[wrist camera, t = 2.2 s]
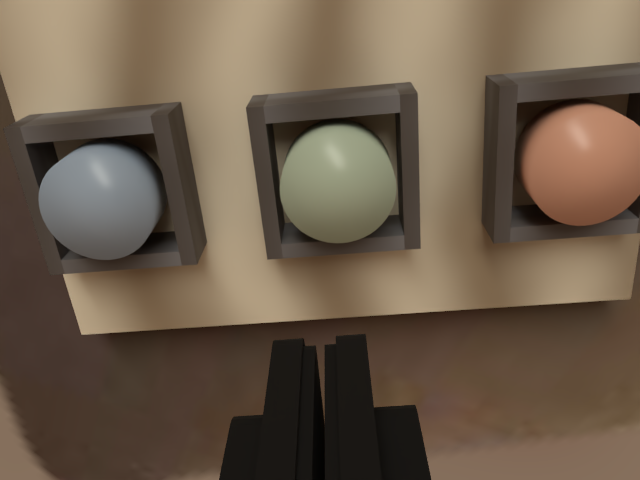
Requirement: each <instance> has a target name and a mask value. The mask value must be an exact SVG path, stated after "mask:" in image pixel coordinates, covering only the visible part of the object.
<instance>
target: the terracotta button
mask: <svg viewBox="0 0 640 480" xmlns="http://www.w3.org/2000/svg"><path fill="white" fill-rule="evenodd" d="M514 168H515V173H516V176H517V179H518V181H519V183H520V184H521V186H522V187H523V188H524V190H525V191H526V192H527V193H528V194H529V196H530V197H531V198H532V199H533V200H534V202H535V203H536V204H537V205H538V206H539V208H540V209H541V210H542V211H543V212H544V213H545V214H546V215H548V216H549V217H550V218H552V219H554V220H556V221H558V222H561V223H563V224H568V225H574V226H586V225H593V224H597V223H601V222H604V221H606V220H609V219H611V218H613V217H615V216H616V215H618V214H620V213H621V212H623V211H624V210H625V209H627V208H628V207H629V206H630V205H631V204H632V203H633V202H634V201H635V200H636V199H637V197H638V196H639V195H640V126H638V125H637V124H636V123H635V122H634V121H632V120H630V119H629V118H627V117H625V116H623V115H622V114H620V113H618V112H616V111H614V110H612V109H611V108H609V107H607V106H605V105H603V104H601V103H599V102H596V101H593V100H588V99H570V100H565V101H561V102H558V103H556V104H553V105H551V106H549V107H547V108H545V109H544V110H543V111H541V112H540V113H538V114H537V115H536V116H535V117H534V118H533V119H532V120H531V121H530V122H529V123H528V124H527V125H526V127H525V128H524V130H523V131H522V133H521V135H520V137H519V139H518V141H517V144H516V148H515V154H514Z"/></svg>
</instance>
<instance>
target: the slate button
mask: <svg viewBox="0 0 640 480" xmlns="http://www.w3.org/2000/svg"><path fill="white" fill-rule="evenodd" d="M166 204H167V193H166V188H165V183H164V179H163V174H162V172H161V170H160V168H159V166H158V165H157V164H156V162H155V161H154V160H153V159H152V158H151V157H150V156H149V155H148V154H147V153H146V152H144V151H143V150H142V149H140V148H139V147H137V146H135V145H133V144H131V143H129V142H126V141H123V140H119V139H113V138H100V139H95V140H91V141H88V142H86V143H84V144H82V145H81V146H79V147H77V148H76V149H75V150H73V151H72V152H71V153H69V154H68V155H67V156H65V157H64V158H63V159H61V160H60V161H59V162H57V163H56V164H55V165H54V166H53V167H52V168H50V169H49V171H48V172H47V173H46V175H45V176H44V178H43V180H42V183H41V185H40V189H39V208H40V212H41V215H42V218H43V220H44V222H45V224H46V226H47V228H48V229H49V231H50V232H51V233H52V235H53V236H54V237H55V238H56V239H57V240H58V241H59V242H60V243H61V244H63V245H64V246H65V247H67V248H68V249H70V250H71V251H73V252H75V253H77V254H79V255H82V256H85V257H88V258H92V259H98V260H113V259H118V258H122V257H125V256H127V255H130V254H131V253H133V252H135V251H136V250H137V249H139V248H140V247H141V246H142V245H143V244H144V242H145V241H146V239H147V238H148V236H149V235H150V233H151V232H152V230H153V229H154V227H155V226H156V224H157V223H158V221H159V220H160V218H161V217H162V215H163V213H164V211H165V208H166Z"/></svg>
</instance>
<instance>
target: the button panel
mask: <svg viewBox="0 0 640 480" xmlns="http://www.w3.org/2000/svg"><path fill="white" fill-rule="evenodd" d="M0 72H1V76H2V79H3V82H4V85H5V88H6V92H7V95H8V98H9V101H10V105H11V108H12V111H13V114H14V118H15V121H16V122H14V123H13V124H11V125H9V126H7V127H5V128H3V130H4V133H5V136H6V139H7V142H8V145H9V149H10V152H11V155H12V158H13V161H14V164H15V167H16V170H17V174H18V177H19V180H20V183H21V186H22V189H23V192H24V195H25V199H26V202H27V205H28V208H29V211H30V214H31V217H32V220H33V224H34V227H35V230H36V233H37V236H38V239H39V242H40V245H41V249H42V252H43V255H44V258H45V261H46V264H47V267H48V270H49V274H50V275H59V274H63V276H64V279H65V282H66V286H67V289H68V292H69V295H70V299H71V302H72V305H73V308H74V311H75V315H76V318H77V321H78V324H79V328H80V331H81V334H82V335H86V334H101V333H116V332H132V331H147V330H162V329H177V328H193V327H208V326H223V325H239V324H254V323H269V322H285V321H300V320H315V319H331V318H346V317H361V316H377V315H392V314H407V313H422V312H438V311H453V310H468V309H484V308H499V307H514V306H530V305H545V304H560V303H576V302H591V301H606V300H621V299H631V293H632V287H633V280H634V274H635V268H636V261H637V255H638V248H639V242H640V195H639V196H638V197H637V199H636V200H635V201H634V202H633V203H632V204H631V205H630V206H629V207H628V208H627V209H625V210H624V211H623V212H621V213H620V214H618V215H616V216H615V217H613V218H611V219H609V220H606V221H604V222H601V223H597V224H593V225H586V226H574V225H568V224H563V223H561V222H558V221H556V220H554V219H552V218H550V217H549V216H548V215H546V214H545V213H544V212H543V211H542V210H541V209H540V208H539V206H538V205H537V204H536V203H535V202H534V200H533V199H532V198H531V197H530V196H529V194H528V193H527V192H526V191H525V190H524V188H523V187H522V186H521V184H520V183H519V181H518V179H517V176H516V173H515V168H514V154H515V148H516V144H517V141H518V139H519V137H520V135H521V133H522V131H523V130H524V128H525V127H526V125H527V124H528V123H529V122H530V121H531V120H532V119H533V118H534V117H535V116H536V115H537V114H538V113H540V112H541V111H543V110H544V109H545V108H547V107H549V106H551V105H553V104H556V103H558V102H561V101H565V100H570V99H588V100H593V101H596V102H599V103H601V104H603V105H605V106H607V107H609V108H611V109H612V110H614V111H616V112H618V113H620V114H622V115H623V116H625V117H627V118H629V119H630V120H632V121H634V122H635V123H636V124H637V125H638V126H640V0H0ZM330 119H346V120H351V121H355V122H358V123H360V124H362V125H364V126H366V127H368V128H369V129H370V130H372V131H373V132H374V133H375V134H376V135H377V136H378V137H379V138H380V139H381V141H382V142H383V143H384V145H385V147H386V149H387V151H388V154H389V157H390V161H391V164H392V168H393V171H394V175H395V179H396V197H395V202H394V205H393V208H392V210H391V212H390V214H389V216H388V217H387V219H386V220H385V221H384V222H383V224H382V225H381V226H380V227H379V228H378V229H376V230H375V231H374V232H372V233H371V234H369V235H368V236H366V237H364V238H361V239H359V240H356V241H352V242H347V243H328V242H323V241H319V240H317V239H314V238H312V237H310V236H308V235H306V234H305V233H303V232H302V231H300V230H299V229H298V228H297V227H296V226H295V225H294V224H293V223H292V222H291V221H290V219H289V218H288V216H287V214H286V212H285V210H284V208H283V205H282V202H281V197H280V180H281V176H282V171H283V167H284V163H285V158H286V155H287V152H288V150H289V148H290V146H291V144H292V143H293V141H294V140H295V138H296V137H297V136H298V135H299V134H300V133H301V132H303V131H304V130H305V129H306V128H308V127H310V126H311V125H313V124H316V123H318V122H321V121H324V120H330ZM100 138H113V139H119V140H123V141H126V142H129V143H131V144H133V145H135V146H137V147H139V148H140V149H142V150H143V151H144V152H146V153H147V154H148V155H149V156H150V157H151V158H152V159H153V160H154V161H155V162H156V164H157V165H158V166H159V168H160V170H161V172H162V174H163V179H164V183H165V188H166V193H167V204H166V208H165V211H164V213H163V215H162V217H161V218H160V220H159V221H158V223H157V224H156V226H155V227H154V229H153V230H152V232H151V233H150V235H149V236H148V238H147V239H146V241H145V242H144V244H143V245H142V246H141V247H140V248H139V249H137V250H136V251H135V252H133V253H131V254H130V255H127V256H125V257H122V258H118V259H113V260H98V259H92V258H88V257H85V256H82V255H79V254H77V253H75V252H73V251H71V250H70V249H68V248H67V247H65V246H64V245H63V244H61V243H60V242H59V241H58V240H57V239H56V238H55V237H54V236H53V235H52V233H51V232H50V231H49V229H48V228H47V226H46V224H45V222H44V220H43V218H42V215H41V212H40V208H39V189H40V185H41V183H42V180H43V178H44V176H45V175H46V173H47V172H48V171H49V169H50V168H52V167H53V166H54V165H55V164H56V163H57V162H59V161H60V160H61V159H63V158H64V157H65V156H67V155H68V154H69V153H71V152H72V151H73V150H75V149H76V148H77V147H79V146H81V145H82V144H84V143H86V142H88V141H91V140H95V139H100Z"/></svg>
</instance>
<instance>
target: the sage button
mask: <svg viewBox="0 0 640 480" xmlns="http://www.w3.org/2000/svg"><path fill="white" fill-rule="evenodd" d="M280 197H281V202H282V205H283V208H284V210H285V212H286V214H287V216H288V218H289V219H290V221H291V222H292V223H293V224H294V225H295V226H296V227H297V228H298V229H299V230H300V231H302V232H303V233H305V234H306V235H308V236H310V237H312V238H314V239H317V240H319V241H323V242H328V243H347V242H352V241H356V240H359V239H361V238H364V237H366V236H368V235H369V234H371V233H372V232H374V231H375V230H376V229H378V228H379V227H380V226H381V225H382V224H383V222H384V221H385V220H386V219H387V217H388V216H389V214H390V212H391V210H392V208H393V205H394V202H395V197H396V179H395V175H394V171H393V168H392V164H391V161H390V157H389V154H388V151H387V149H386V147H385V145H384V143H383V142H382V141H381V139H380V138H379V137H378V136H377V135H376V134H375V133H374V132H373V131H372V130H370V129H369V128H368V127H366V126H364V125H362V124H360V123H358V122H355V121H351V120H346V119H330V120H324V121H321V122H318V123H316V124H313V125H311V126H310V127H308V128H306V129H305V130H304V131H303V132H301V133H300V134H299V135H298V136H297V137H296V138H295V140H294V141H293V143H292V144H291V146H290V148H289V150H288V152H287V155H286V158H285V163H284V167H283V171H282V176H281V180H280Z"/></svg>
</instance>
